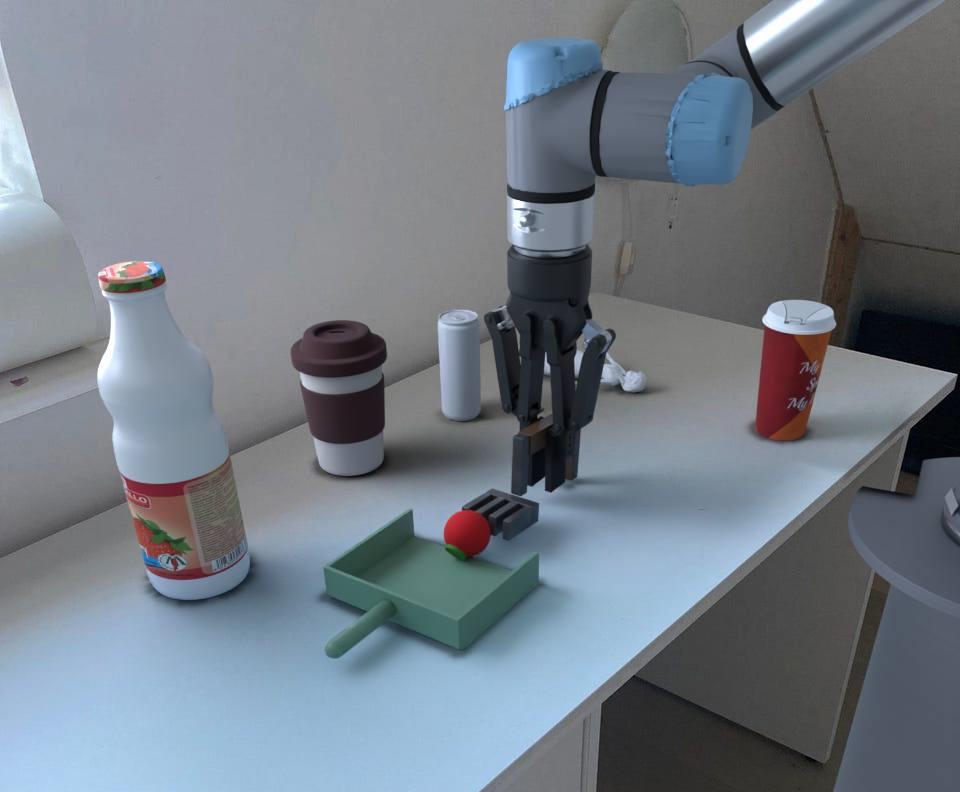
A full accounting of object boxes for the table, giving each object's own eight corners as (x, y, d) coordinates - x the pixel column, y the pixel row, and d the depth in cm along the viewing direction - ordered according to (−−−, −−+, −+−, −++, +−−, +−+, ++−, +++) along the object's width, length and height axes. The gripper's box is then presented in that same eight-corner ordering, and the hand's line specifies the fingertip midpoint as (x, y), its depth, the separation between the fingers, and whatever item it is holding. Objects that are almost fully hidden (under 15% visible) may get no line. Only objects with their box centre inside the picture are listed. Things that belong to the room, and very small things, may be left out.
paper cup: (807, 449, 109) (832, 325, 101) (739, 438, 112) (757, 316, 103) (819, 421, 115) (843, 302, 106) (754, 411, 118) (772, 294, 109)
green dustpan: (411, 537, 96) (409, 507, 94) (538, 582, 89) (539, 552, 87) (265, 641, 83) (259, 609, 81) (401, 704, 76) (398, 671, 74)
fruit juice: (261, 588, 90) (202, 277, 73) (157, 612, 87) (70, 296, 70) (241, 539, 97) (182, 245, 80) (144, 561, 94) (61, 261, 77)
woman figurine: (547, 318, 132) (668, 352, 124) (545, 350, 135) (663, 385, 127) (500, 345, 124) (626, 383, 117) (498, 378, 127) (621, 417, 120)
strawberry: (483, 505, 89) (458, 546, 88) (507, 531, 92) (483, 571, 92) (450, 497, 92) (426, 537, 91) (474, 522, 95) (451, 560, 95)
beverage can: (472, 403, 122) (469, 306, 114) (487, 418, 118) (485, 319, 111) (436, 410, 120) (431, 312, 113) (450, 425, 117) (446, 326, 109)
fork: (550, 469, 106) (554, 398, 102) (595, 482, 103) (601, 410, 99) (461, 525, 95) (461, 447, 90) (509, 541, 92) (511, 462, 88)
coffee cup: (363, 491, 104) (348, 354, 95) (289, 472, 108) (267, 338, 99) (412, 453, 111) (403, 322, 102) (341, 436, 115) (326, 309, 106)
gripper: (457, 243, 87) (466, 479, 101) (601, 269, 80) (588, 519, 94) (504, 223, 92) (506, 451, 106) (644, 246, 85) (626, 487, 99)
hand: (545, 483), depth 100 cm, fingers closed on fork, 2 cm apart
